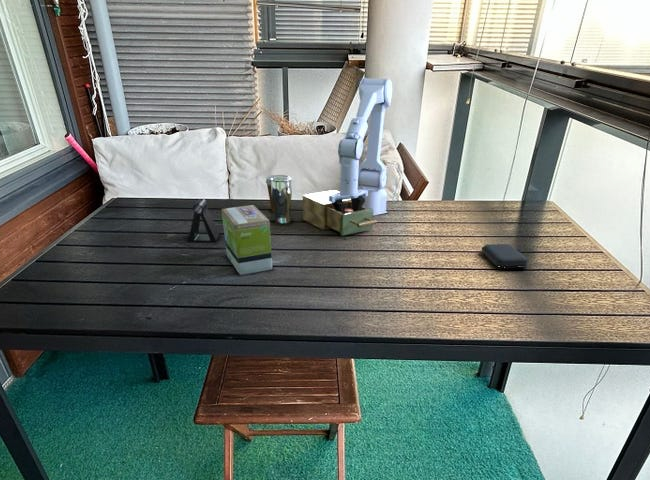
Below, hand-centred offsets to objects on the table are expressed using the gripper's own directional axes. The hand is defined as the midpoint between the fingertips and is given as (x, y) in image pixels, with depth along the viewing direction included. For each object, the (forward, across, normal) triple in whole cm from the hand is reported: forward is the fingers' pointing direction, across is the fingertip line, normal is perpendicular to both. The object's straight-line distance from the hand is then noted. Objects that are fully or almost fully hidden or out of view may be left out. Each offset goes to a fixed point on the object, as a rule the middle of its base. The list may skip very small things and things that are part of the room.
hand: (347, 220), depth 164 cm
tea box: (+3, -42, -8) cm, 43 cm away
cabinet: (+3, 0, +12) cm, 12 cm away
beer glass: (+3, -14, +20) cm, 25 cm away
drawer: (+2, 0, -2) cm, 3 cm away
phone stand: (+3, -44, +18) cm, 48 cm away
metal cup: (+3, -8, +32) cm, 34 cm away
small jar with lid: (+1, 0, 0) cm, 1 cm away
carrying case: (+3, +24, -48) cm, 53 cm away
